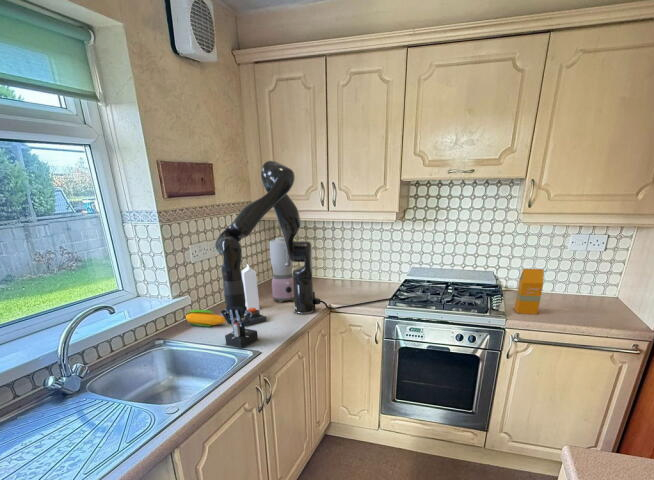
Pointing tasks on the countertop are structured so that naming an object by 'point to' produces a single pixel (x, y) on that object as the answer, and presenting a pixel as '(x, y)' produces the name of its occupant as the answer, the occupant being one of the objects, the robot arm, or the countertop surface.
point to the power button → (252, 310)
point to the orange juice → (529, 291)
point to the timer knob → (236, 329)
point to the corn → (204, 318)
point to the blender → (281, 271)
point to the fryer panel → (241, 338)
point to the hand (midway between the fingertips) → (239, 334)
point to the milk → (250, 288)
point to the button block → (256, 318)
